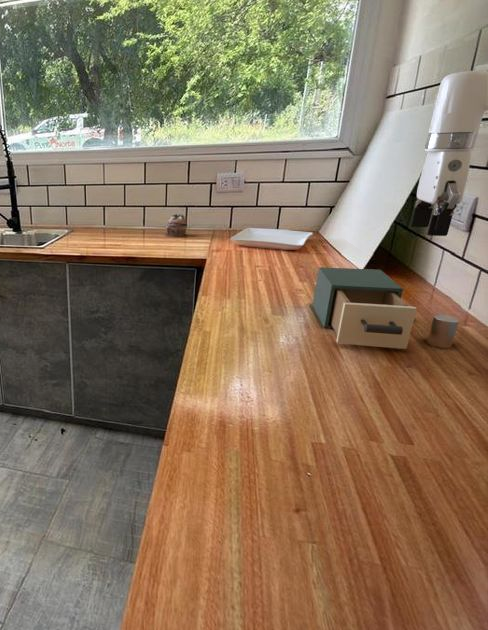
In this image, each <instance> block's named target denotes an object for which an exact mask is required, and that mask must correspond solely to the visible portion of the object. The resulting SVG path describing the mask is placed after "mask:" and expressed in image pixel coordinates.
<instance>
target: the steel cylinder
mask: <svg viewBox="0 0 488 630" xmlns="http://www.w3.org/2000/svg"><path fill="white" fill-rule="evenodd" d="M459 323H460V319H459V318H457V317H454V316H451V315H446V314H436V315H434V316H433V319H432V322H431V326H430V330H429V334H428V337H427V340H426V342H427V344H428V345H430V346H434V347H436V348H443V349H447V348H451V347H452V346H453V342H454V338H455V335H456V332H457V328H458V325H459Z"/></svg>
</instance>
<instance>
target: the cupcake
mask: <svg viewBox="0 0 488 630" xmlns="http://www.w3.org/2000/svg"><path fill="white" fill-rule="evenodd" d="M165 226H166V228H165V229H166V235H167V237H171V238H182V237H185V236H186V232H187V228H188V220H187V219H186V216H185V215H184V214H179V215H178V214H177V213H175V214H172V215H171V217H170V219H168V221H167V223H166V224H165Z"/></svg>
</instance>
